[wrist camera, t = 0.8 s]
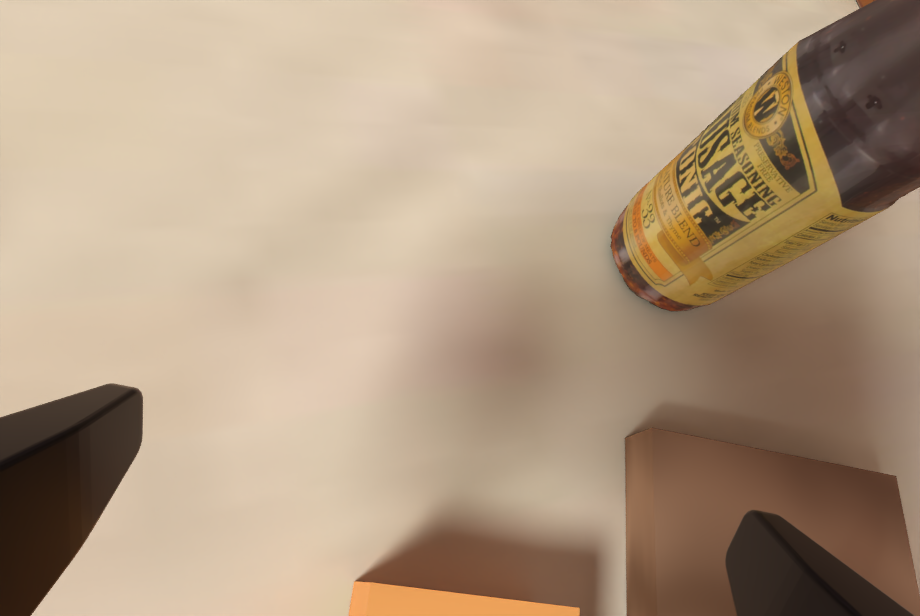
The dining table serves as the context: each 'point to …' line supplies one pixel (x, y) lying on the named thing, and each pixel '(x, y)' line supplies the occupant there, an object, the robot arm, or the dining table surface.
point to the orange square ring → (441, 603)
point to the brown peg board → (726, 502)
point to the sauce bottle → (783, 164)
